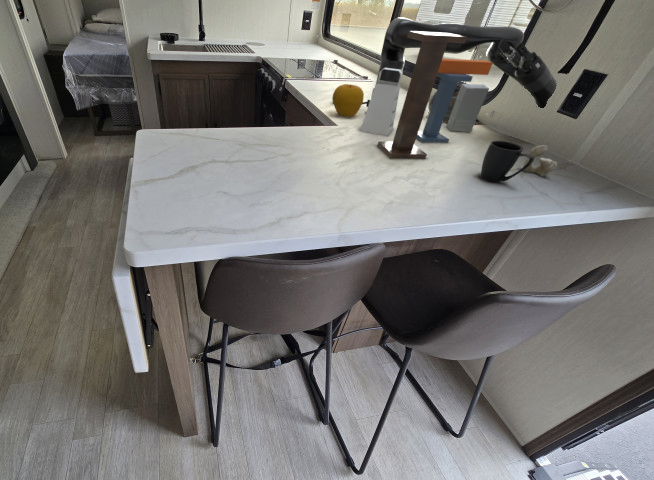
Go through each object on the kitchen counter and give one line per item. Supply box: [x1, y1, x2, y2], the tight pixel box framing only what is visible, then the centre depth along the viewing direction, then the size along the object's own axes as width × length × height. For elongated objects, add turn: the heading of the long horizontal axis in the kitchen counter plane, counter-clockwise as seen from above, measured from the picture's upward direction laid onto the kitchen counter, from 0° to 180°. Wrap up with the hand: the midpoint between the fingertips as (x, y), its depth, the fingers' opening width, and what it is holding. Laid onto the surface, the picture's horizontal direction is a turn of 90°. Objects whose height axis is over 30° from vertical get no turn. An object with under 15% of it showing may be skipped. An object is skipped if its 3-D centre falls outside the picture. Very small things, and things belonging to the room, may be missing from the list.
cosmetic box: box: [446, 83, 490, 133], centre depth 134 cm, size 8×7×16 cm
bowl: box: [427, 90, 459, 121], centre depth 147 cm, size 14×15×10 cm
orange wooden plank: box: [438, 58, 494, 76], centre depth 114 cm, size 24×4×4 cm, turn 97°
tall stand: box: [377, 31, 467, 160], centre depth 105 cm, size 12×12×32 cm
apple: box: [331, 83, 365, 118], centre depth 143 cm, size 13×13×11 cm
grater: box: [359, 68, 403, 137], centre depth 127 cm, size 10×10×20 cm
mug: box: [479, 140, 535, 183], centre depth 98 cm, size 8×12×10 cm
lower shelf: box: [416, 73, 474, 144], centre depth 122 cm, size 10×12×21 cm
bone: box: [522, 144, 558, 178], centre depth 104 cm, size 9×6×10 cm
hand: (509, 43), depth 111 cm, fingers open, 8 cm apart
